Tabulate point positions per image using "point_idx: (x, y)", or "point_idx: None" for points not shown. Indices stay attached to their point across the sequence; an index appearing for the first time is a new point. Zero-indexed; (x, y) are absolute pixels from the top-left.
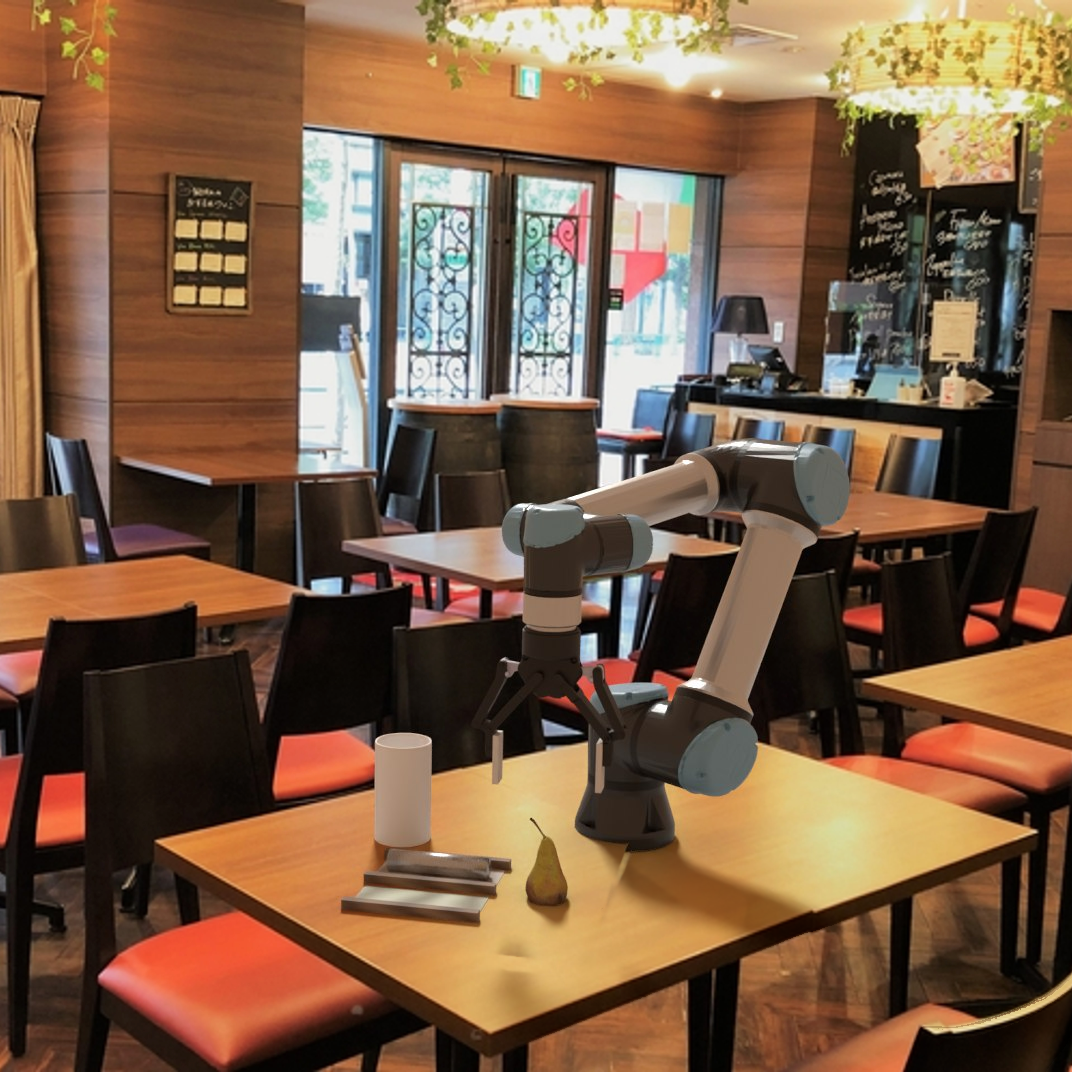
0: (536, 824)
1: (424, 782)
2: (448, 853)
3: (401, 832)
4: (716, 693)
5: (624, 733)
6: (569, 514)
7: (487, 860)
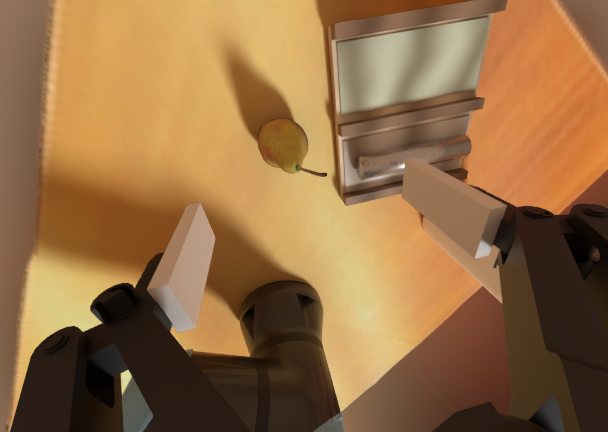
0: (314, 172)
1: None
2: None
3: None
4: None
5: (32, 355)
6: None
7: (364, 167)
